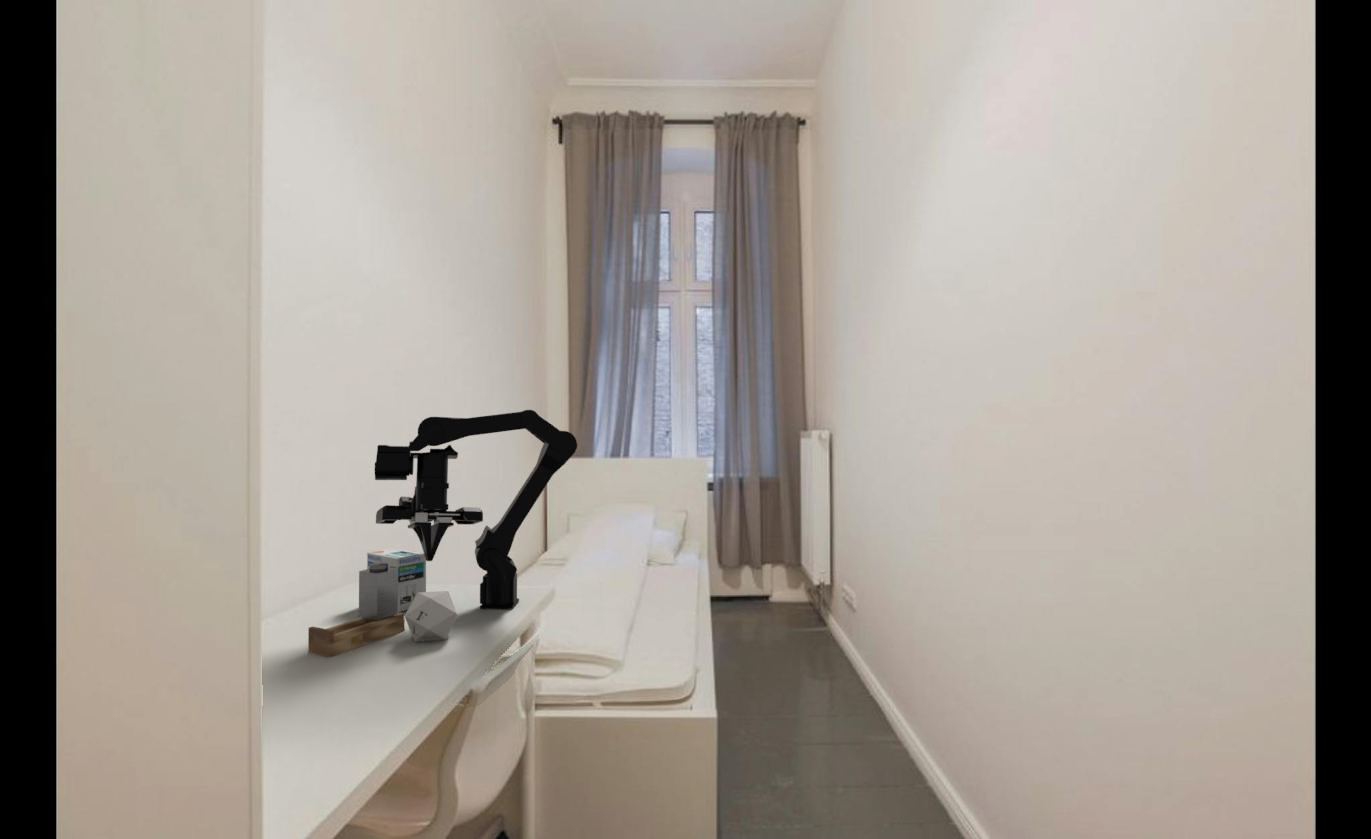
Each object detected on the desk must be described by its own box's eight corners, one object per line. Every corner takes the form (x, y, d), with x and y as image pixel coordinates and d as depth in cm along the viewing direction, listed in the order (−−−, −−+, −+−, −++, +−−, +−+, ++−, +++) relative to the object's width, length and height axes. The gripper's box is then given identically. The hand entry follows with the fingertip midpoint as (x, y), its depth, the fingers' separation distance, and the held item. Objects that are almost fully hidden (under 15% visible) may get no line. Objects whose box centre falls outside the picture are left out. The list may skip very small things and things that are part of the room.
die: (397, 640, 117) (392, 605, 111) (432, 605, 124) (428, 571, 118) (435, 661, 115) (431, 627, 109) (468, 625, 122) (466, 591, 116)
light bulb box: (427, 605, 137) (427, 552, 137) (397, 613, 131) (398, 558, 131) (394, 597, 142) (395, 546, 142) (365, 605, 137) (365, 552, 137)
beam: (383, 626, 122) (383, 604, 122) (404, 630, 120) (405, 608, 120) (307, 652, 109) (308, 627, 109) (330, 657, 107) (330, 632, 107)
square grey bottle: (379, 615, 121) (380, 560, 121) (397, 618, 119) (398, 563, 119) (358, 622, 117) (359, 565, 117) (377, 625, 115) (377, 567, 115)
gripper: (465, 488, 143) (464, 563, 139) (371, 484, 132) (366, 565, 129) (484, 479, 135) (483, 558, 131) (385, 474, 124) (380, 560, 120)
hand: (429, 561), depth 128 cm, fingers closed
